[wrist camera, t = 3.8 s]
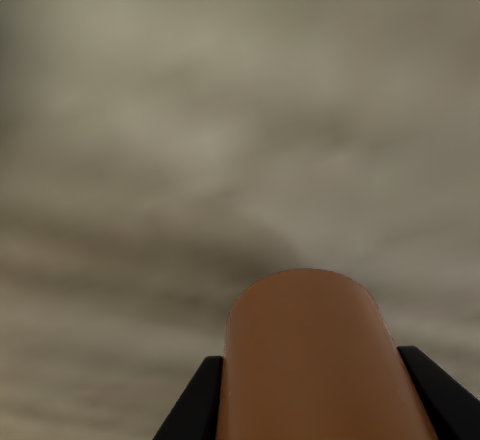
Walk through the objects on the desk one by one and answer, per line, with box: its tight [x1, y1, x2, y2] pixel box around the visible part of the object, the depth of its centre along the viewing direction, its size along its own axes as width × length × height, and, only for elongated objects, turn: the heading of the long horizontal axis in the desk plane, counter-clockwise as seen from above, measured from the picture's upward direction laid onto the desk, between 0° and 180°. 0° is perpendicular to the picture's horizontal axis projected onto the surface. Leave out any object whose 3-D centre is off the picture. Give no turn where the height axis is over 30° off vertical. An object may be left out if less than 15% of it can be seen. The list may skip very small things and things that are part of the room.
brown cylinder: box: [215, 269, 439, 440], centre depth 7 cm, size 4×4×4 cm
